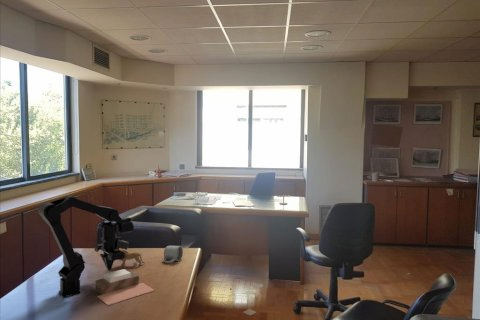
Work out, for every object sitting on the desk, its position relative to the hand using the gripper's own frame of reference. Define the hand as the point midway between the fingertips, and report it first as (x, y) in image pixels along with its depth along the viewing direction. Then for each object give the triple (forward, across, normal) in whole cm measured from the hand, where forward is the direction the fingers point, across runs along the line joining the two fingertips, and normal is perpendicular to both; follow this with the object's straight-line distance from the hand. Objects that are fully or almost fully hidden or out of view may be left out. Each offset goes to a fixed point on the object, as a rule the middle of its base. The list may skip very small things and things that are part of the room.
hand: (109, 270), depth 153 cm
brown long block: (+5, -8, 0) cm, 10 cm away
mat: (+5, -17, 0) cm, 18 cm away
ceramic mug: (+5, +5, -36) cm, 37 cm away
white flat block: (0, -8, 0) cm, 8 cm away
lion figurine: (+5, +12, -16) cm, 21 cm away
